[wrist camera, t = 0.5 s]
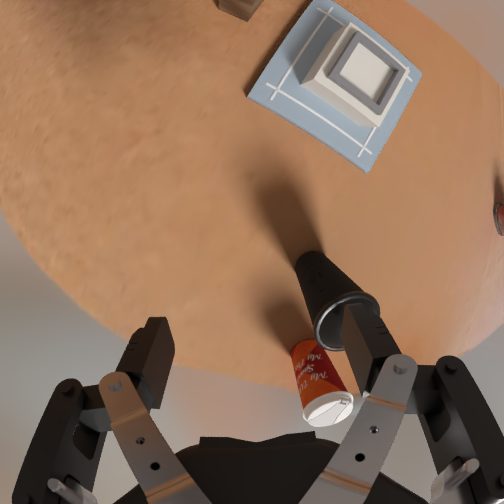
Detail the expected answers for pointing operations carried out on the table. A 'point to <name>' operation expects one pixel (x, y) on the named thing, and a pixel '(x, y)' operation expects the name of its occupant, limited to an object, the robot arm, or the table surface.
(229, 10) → the walnut post
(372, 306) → the drinking cup
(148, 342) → the robot arm
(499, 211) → the lighter
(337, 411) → the paper cup
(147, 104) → the table surface
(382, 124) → the plan board
